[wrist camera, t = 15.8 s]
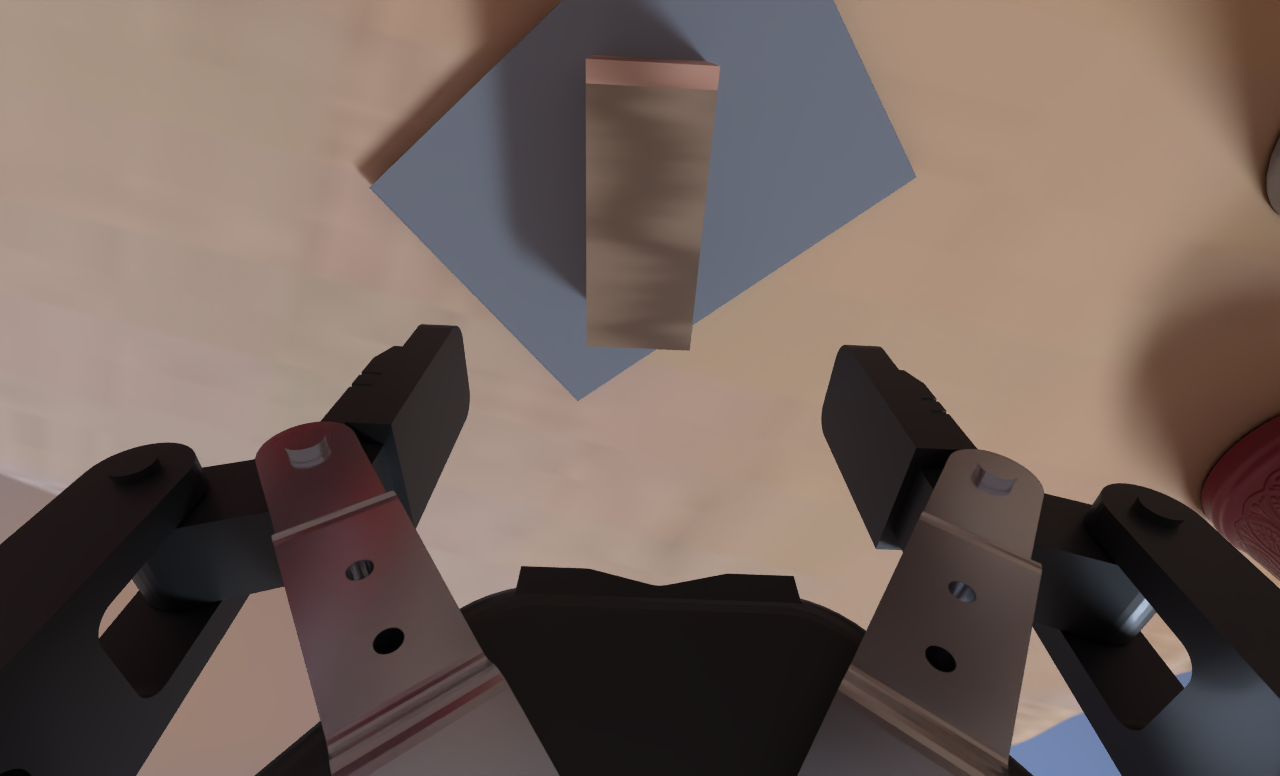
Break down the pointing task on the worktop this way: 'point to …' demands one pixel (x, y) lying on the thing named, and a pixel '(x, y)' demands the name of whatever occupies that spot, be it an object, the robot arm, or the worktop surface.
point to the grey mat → (556, 161)
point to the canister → (1249, 495)
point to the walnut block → (645, 197)
